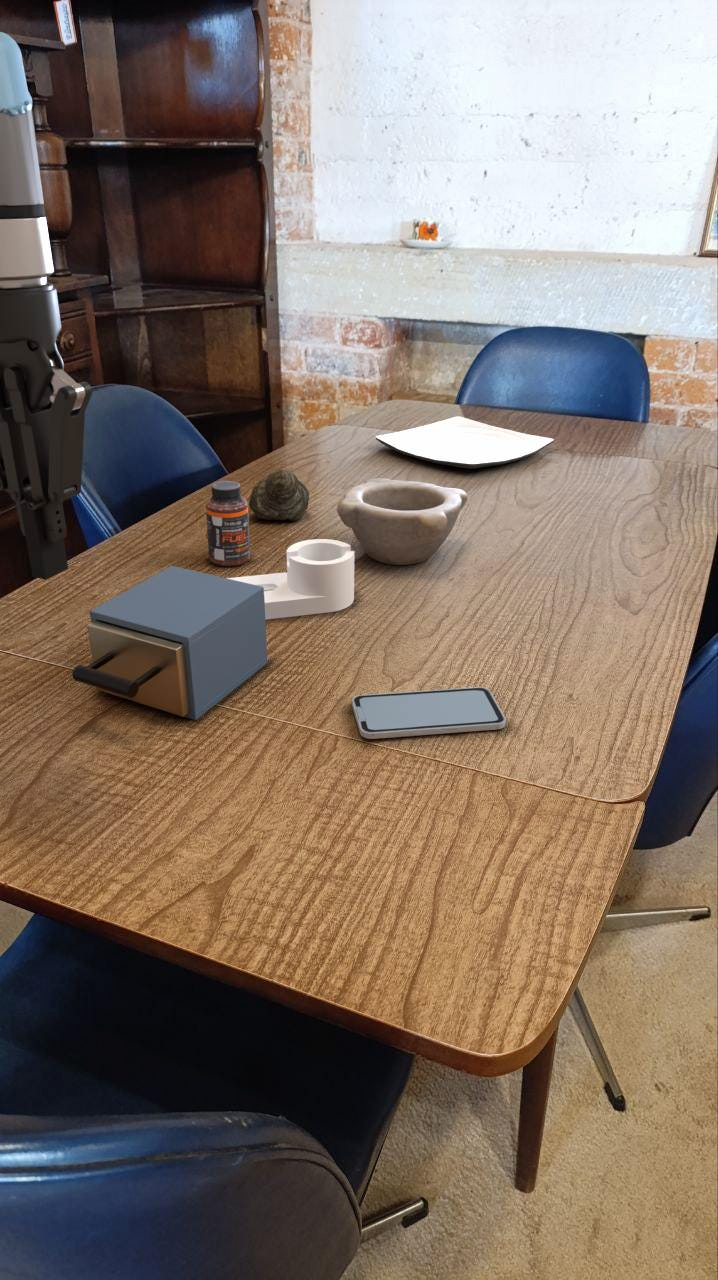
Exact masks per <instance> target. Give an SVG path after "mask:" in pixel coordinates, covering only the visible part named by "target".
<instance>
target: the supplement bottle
mask: <svg viewBox="0 0 718 1280" xmlns="http://www.w3.org/2000/svg"><path fill="white" fill-rule="evenodd" d="M241 493H242V490H241V484H240V483H238V482H236V481H231V480H221V481H216V482H214V483H212V484H211V497H210V498H208V499H207V500H206V503H205V516H206V534H207V546H208V547H207V549H208V558H209V561H210V562H211V563H213V564H214V565H217V566H221V567H236V566H237V567H238V566H240V565H243V564H245V563H247V562H248V561H249V560H250V557H251V543H250V542H251V541H250V522H249V521H250V517H249V516H250V515H249V502H248V501H247V500H246V498H244V496H241Z"/></svg>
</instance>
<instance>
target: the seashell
mask: <svg viewBox="0 0 718 1280" xmlns="http://www.w3.org/2000/svg"><path fill="white" fill-rule="evenodd" d="M309 500H310V491H309V489H308V488H307V486H306V484H305V483H303V482H302V480H299V479H298V477H297V476H296V474H295V473H293V472H292V471H291V470H287V469H278V470H276V471H273V472H271V473H270V474H269V475H267V477H266V479H265V478H264V479H263V480H260V481H258V482H257V484H256V485H255V486H253V487H252V490H251V494H250V498H249V502H248V507H249V509H250V510H251V511H252V512H253V514H255V515H256V517H258V518H259V519H260V520H266V521H267V520H270V521H271V520H277V521H284V520H289V521H291V522H294V521H298V520H301V519H302V518H303V517H304V516H305V513H306V511H307V510H308V507H309V503H310V501H309Z"/></svg>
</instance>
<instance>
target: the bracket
mask: <svg viewBox="0 0 718 1280" xmlns="http://www.w3.org/2000/svg"><path fill="white" fill-rule="evenodd" d="M226 578H227V579H231V580H236V581H240V582H244V583H248V584H253V585H257V586H261V587H264V601H265V621H266V620H274V619H284V618H293V617H300V616H301V617H303V616H309V615H317V614H318V615H319V614H326V613H328V614H329V613H334V612H338V611H342V610H344V609H347V608H349V607H350V606H352V604H353V603H354V600H355V550H352V545H350V544H349V543H347V542H344V541H340V540H337V539H327V538H313V539H306V540H301V541H298V542H296V543H293V544H291V545H290V546H288V548H287V549H286V572H277V573H267V574H256V575H255V574H254V575H246V576H238V577H236V576H235V577H226Z"/></svg>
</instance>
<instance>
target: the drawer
mask: <svg viewBox="0 0 718 1280" xmlns="http://www.w3.org/2000/svg"><path fill="white" fill-rule="evenodd" d="M86 626H87V633H88V639H89V647H90V653H91V658H92V662H91V663H89V664H88V665H86V666H85V665H82V664H78V665H76V666H75V667H74V668H73V671H72V675H71V676H72V679H73V680H74V681H75V682H78V683H81V684H85V685H89V686H91V687H95V688H96V690H97V691H100V692H103V693H106V694H109V695H113V696H116V697H119V698H122V699H125V700H128V701H129V700H130V701H131V702H132V701H133V702H135V703H138V704H140V705H144V706H147V707H150V708H153V709H157V710H160V711H163V712H166V713H170V714H173V715H176V716H179V717H182V718H183V717H184V716H185V715H186V714H188V713H189V712H190V705H189V695H188V685H187V675H186V665H185V655H184V645H183V643H181V644H179V643H175V642H171V641H168V640H164V639H160V638H157V637H153V636H150V635H146V634H144V633H145V632H141V631H137V630H134V629H130V628H126V627H123V626H119V625H115V624H112V623H110V624H106V623H102V622H99V621H93V622H91V621H90V623H88V624H87V625H86Z"/></svg>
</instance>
